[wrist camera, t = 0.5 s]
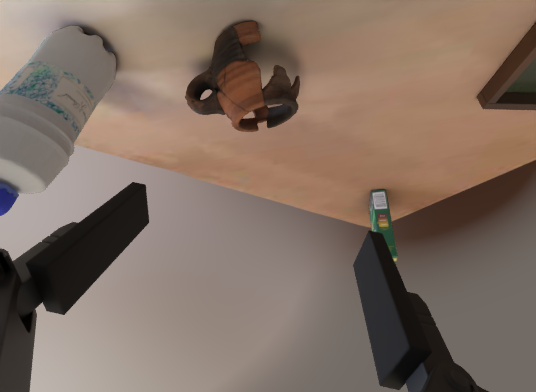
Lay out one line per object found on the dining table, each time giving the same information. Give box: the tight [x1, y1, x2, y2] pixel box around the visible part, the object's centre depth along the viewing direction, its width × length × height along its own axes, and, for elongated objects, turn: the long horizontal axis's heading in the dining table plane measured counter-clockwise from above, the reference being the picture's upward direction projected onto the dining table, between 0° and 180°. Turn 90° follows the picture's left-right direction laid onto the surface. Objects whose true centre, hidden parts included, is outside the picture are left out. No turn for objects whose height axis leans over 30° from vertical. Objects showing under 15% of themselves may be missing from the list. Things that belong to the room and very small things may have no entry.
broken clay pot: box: [185, 21, 300, 132], centre depth 28 cm, size 12×10×8 cm
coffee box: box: [369, 190, 398, 263], centre depth 47 cm, size 8×3×13 cm, turn 16°
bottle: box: [0, 26, 116, 216], centre depth 23 cm, size 7×7×20 cm
